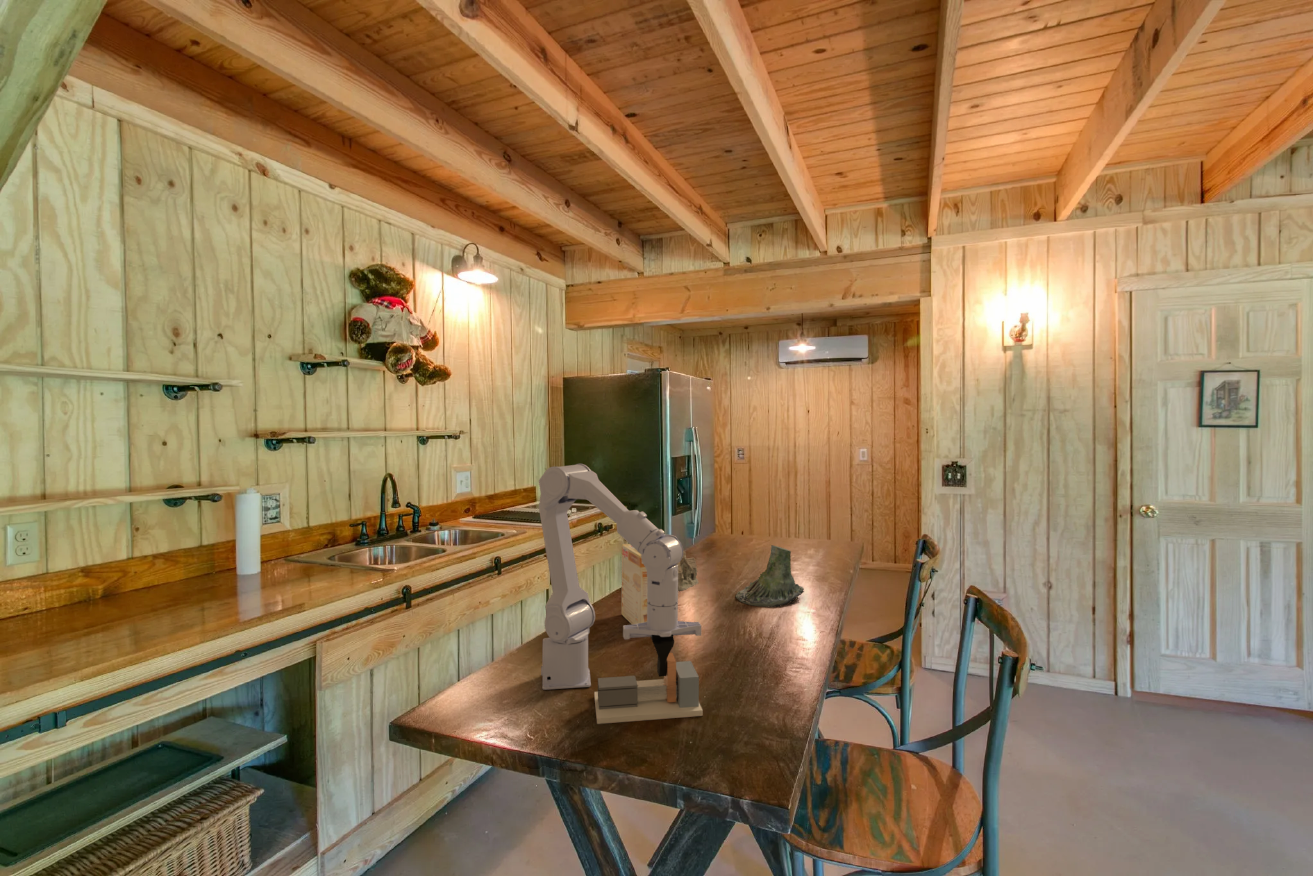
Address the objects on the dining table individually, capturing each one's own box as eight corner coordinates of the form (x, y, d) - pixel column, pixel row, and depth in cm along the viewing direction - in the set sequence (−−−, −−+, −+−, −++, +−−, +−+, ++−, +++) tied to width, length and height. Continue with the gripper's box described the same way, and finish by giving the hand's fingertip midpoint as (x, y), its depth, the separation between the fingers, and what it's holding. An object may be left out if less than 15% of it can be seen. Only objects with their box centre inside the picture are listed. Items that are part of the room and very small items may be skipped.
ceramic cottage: (654, 592, 180) (657, 543, 180) (649, 579, 196) (652, 535, 197) (704, 593, 182) (707, 545, 182) (694, 581, 198) (697, 537, 198)
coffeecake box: (665, 629, 148) (665, 553, 148) (639, 633, 146) (639, 555, 145) (644, 611, 162) (645, 541, 162) (620, 614, 160) (620, 543, 159)
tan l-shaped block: (630, 705, 106) (630, 664, 106) (628, 694, 110) (628, 655, 110) (692, 700, 108) (692, 660, 108) (687, 690, 112) (688, 651, 112)
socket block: (679, 707, 106) (680, 678, 106) (672, 690, 113) (673, 662, 113) (698, 706, 107) (698, 676, 106) (690, 688, 114) (690, 661, 113)
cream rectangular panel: (597, 723, 102) (597, 695, 102) (594, 697, 112) (594, 671, 112) (702, 715, 105) (702, 688, 105) (691, 690, 115) (691, 665, 115)
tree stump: (724, 592, 182) (736, 536, 183) (781, 603, 187) (792, 548, 188) (748, 608, 164) (762, 545, 165) (810, 619, 169) (823, 558, 170)
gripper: (625, 610, 103) (625, 686, 104) (705, 607, 106) (704, 681, 106) (622, 598, 110) (621, 669, 111) (696, 595, 113) (696, 665, 113)
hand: (661, 674), depth 109 cm, fingers closed, pressing on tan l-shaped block
